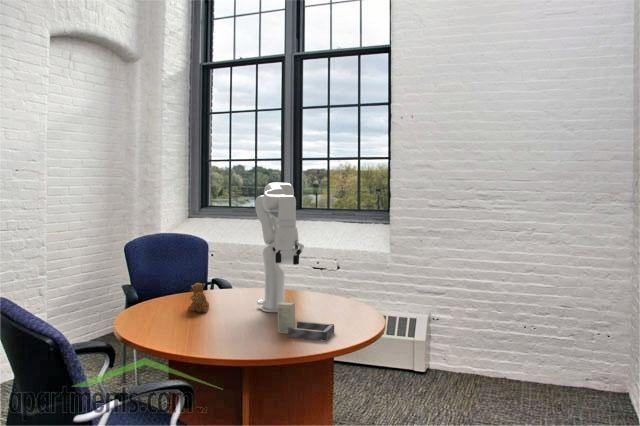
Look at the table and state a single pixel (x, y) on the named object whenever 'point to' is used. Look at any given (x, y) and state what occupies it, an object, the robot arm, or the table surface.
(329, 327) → the u rest
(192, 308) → the brown teddy bear
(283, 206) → the robot arm
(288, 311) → the skincare box
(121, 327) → the table surface
